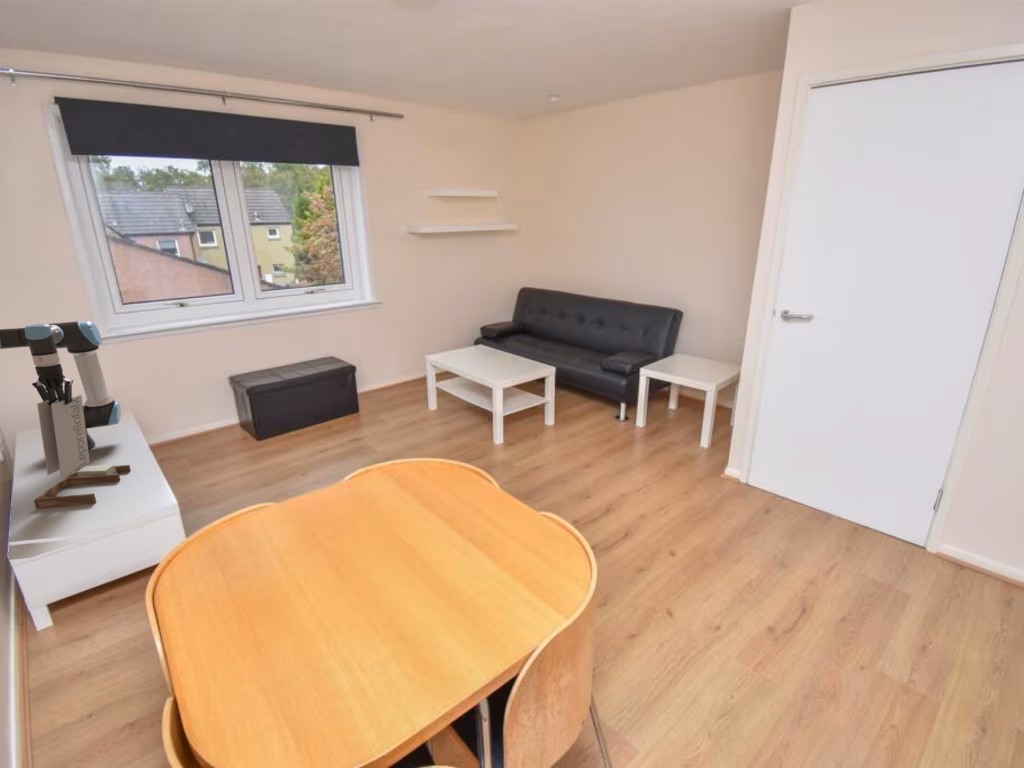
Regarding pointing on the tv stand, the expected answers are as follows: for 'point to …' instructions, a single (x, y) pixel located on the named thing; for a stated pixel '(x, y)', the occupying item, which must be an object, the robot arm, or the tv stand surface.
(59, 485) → the rack
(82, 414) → the brochure
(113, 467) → the offcut upper
